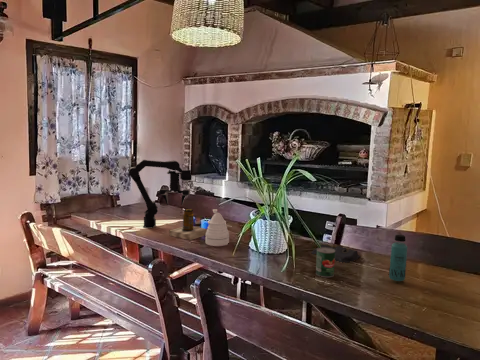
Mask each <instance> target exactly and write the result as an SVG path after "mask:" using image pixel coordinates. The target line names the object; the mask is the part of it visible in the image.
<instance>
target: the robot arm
mask: <svg viewBox="0 0 480 360" xmlns="http://www.w3.org/2000/svg"><path fill="white" fill-rule="evenodd" d="M180 165H181V164H180V163H179V162H178V161H177V160H167V161H160V160H148V159H142V160H140V162H139V163H137V164H136V165H135V166H131V167H130V168H129V169H128V174H129V176H130V178H131V179H132V180H133V181H134V183H135V184H136V186H137V188H138V190H139V192H140V194H141V196H142V199H143V201H144V203H145V205H146V210H145V211H144V217H143V225H142V227H143V228H151V229H152V228H154V227H156V226H157V221H156V217H155V215H157V213H158V212H159V211H158V207H159V206H158V205H157V203H156V201H155V200H152V199H151V197H150V195H149V193H148V191H147V189H146V188H145V186H144V183H143V181H142V179H141V175H140V172H142V170H143V169H144V168H146V167H150V168H151V167H152V168H160V169H162V168H163V169H168V171H167V172H166V174H168V175H169V178H170V179H169V189H167V188H160V189H159V192H158V194H159V195H161V197H163V199H164V201H165V203H166V205H167V206H169V194H182V195H181V206H183V205H184V201H185V199H186V197H188V196H189V195H190V194H191V190H190V189H186V188H185V189H182V185H181V184H180V180H181V181H182V182H185V181H186V182H187V181H192V177H193V176H192V171H191V169H182V168H181V167H180ZM176 171H177V172H176Z"/></svg>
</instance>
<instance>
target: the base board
mask: <svg viewBox="0 0 480 360" xmlns="http://www.w3.org/2000/svg"><path fill="white" fill-rule="evenodd" d="M181 228H183V226H181V227H177V228H174V229H170V230H169V236H170V237H174V238H178V239H183V240H188V241H192V240H194V239H195V240H196V239H199V238H201V237H204V236H205V237H206V232H207V229H208V228H204V227H203V228H202V227H198V226H194V230H195V231H193V232H183V231H182V229H181Z"/></svg>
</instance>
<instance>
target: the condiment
mask: <svg viewBox="0 0 480 360" xmlns="http://www.w3.org/2000/svg"><path fill="white" fill-rule="evenodd" d="M194 215H195V214H194V209H193V208H184V209H183V214H182V227H183V228H181V229H182V231H183V232H193V231H195V230H194V227H195V226H194V224H195V221H194V219H195V217H194Z"/></svg>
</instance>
